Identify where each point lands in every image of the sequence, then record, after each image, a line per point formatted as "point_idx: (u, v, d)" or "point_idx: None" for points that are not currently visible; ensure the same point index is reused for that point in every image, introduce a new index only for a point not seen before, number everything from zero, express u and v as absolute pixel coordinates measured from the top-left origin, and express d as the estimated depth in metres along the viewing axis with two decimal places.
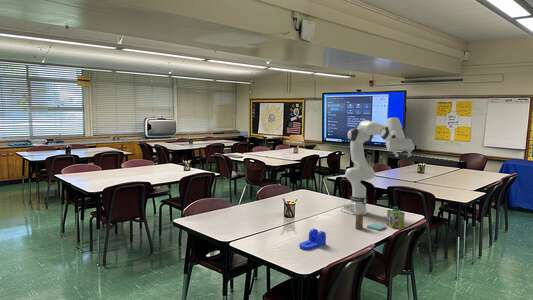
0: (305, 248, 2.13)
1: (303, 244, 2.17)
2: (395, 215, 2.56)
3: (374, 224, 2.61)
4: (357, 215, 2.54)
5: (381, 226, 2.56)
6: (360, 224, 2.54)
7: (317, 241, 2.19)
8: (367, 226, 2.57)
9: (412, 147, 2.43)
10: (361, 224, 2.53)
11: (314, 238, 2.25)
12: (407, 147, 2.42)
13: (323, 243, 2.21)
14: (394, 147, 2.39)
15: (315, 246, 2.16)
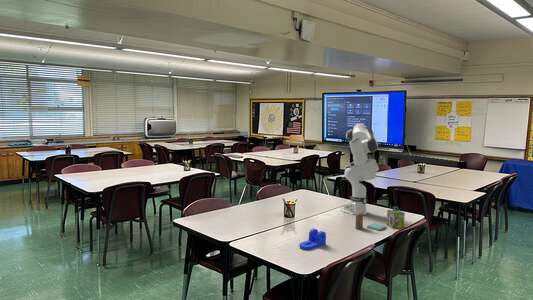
0: (305, 248, 2.13)
1: (303, 244, 2.17)
2: (395, 215, 2.56)
3: (374, 224, 2.61)
4: (357, 215, 2.54)
5: (381, 226, 2.56)
6: (360, 224, 2.54)
7: (317, 241, 2.19)
8: (367, 226, 2.57)
9: (374, 170, 2.38)
10: (361, 224, 2.53)
11: (314, 238, 2.25)
12: (368, 171, 2.41)
13: (323, 243, 2.21)
14: (356, 174, 2.48)
15: (315, 246, 2.16)
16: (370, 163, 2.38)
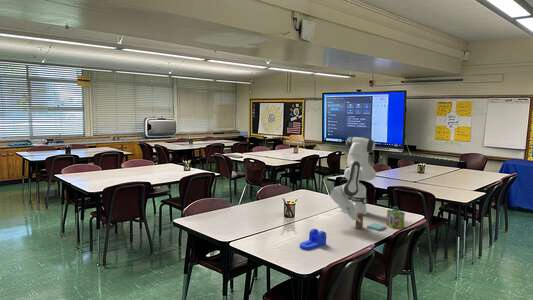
0: (305, 248, 2.13)
1: (303, 244, 2.17)
2: (395, 215, 2.56)
3: (374, 224, 2.61)
4: (357, 215, 2.54)
5: (381, 226, 2.56)
6: (360, 224, 2.54)
7: (317, 241, 2.19)
8: (367, 226, 2.57)
9: None
10: (361, 224, 2.53)
11: (314, 238, 2.25)
12: None
13: (323, 243, 2.21)
14: None
15: (315, 246, 2.16)
16: None
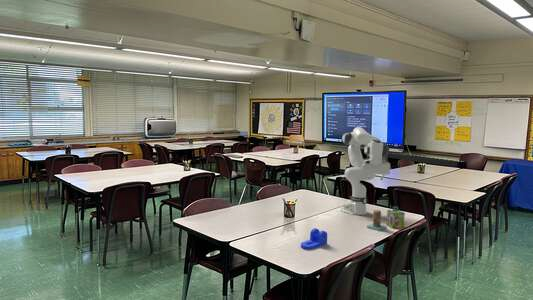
0: (306, 248, 2.13)
1: (304, 244, 2.17)
2: (395, 215, 2.56)
3: None
4: (375, 213, 2.54)
5: (381, 226, 2.56)
6: (377, 222, 2.54)
7: (318, 241, 2.19)
8: (367, 226, 2.57)
9: (386, 172, 2.60)
10: (379, 222, 2.54)
11: (315, 238, 2.25)
12: (380, 172, 2.61)
13: (324, 243, 2.22)
14: (366, 171, 2.63)
15: (316, 246, 2.17)
16: (385, 165, 2.59)
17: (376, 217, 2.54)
